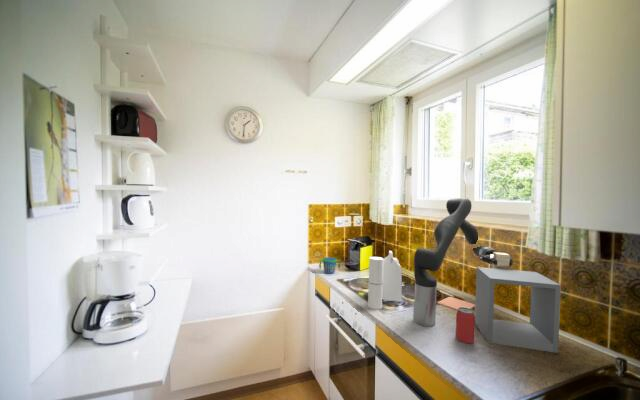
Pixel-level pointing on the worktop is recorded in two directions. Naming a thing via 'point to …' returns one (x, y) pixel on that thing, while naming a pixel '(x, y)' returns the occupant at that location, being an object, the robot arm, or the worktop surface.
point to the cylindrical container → (375, 282)
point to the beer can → (465, 325)
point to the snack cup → (329, 264)
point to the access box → (542, 310)
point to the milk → (392, 278)
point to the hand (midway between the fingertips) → (503, 263)
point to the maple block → (501, 260)
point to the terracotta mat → (455, 303)
